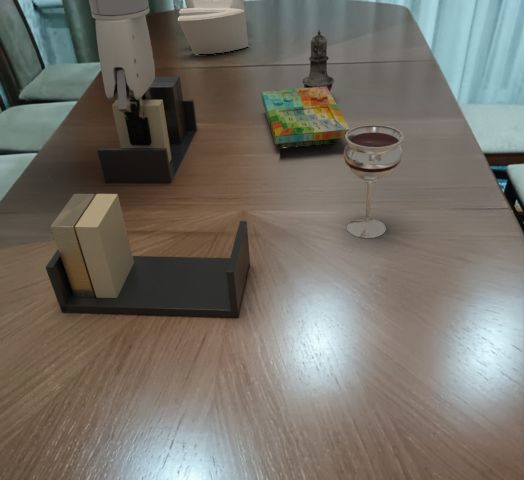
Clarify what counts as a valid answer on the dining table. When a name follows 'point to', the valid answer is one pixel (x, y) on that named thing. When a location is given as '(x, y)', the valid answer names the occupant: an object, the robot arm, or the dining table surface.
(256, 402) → the dining table surface
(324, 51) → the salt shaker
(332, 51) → the dining table surface
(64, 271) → the black book holder
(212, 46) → the wavy white extrusion
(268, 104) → the puzzle game
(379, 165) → the wineglass
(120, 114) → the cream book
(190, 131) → the grey book rack
